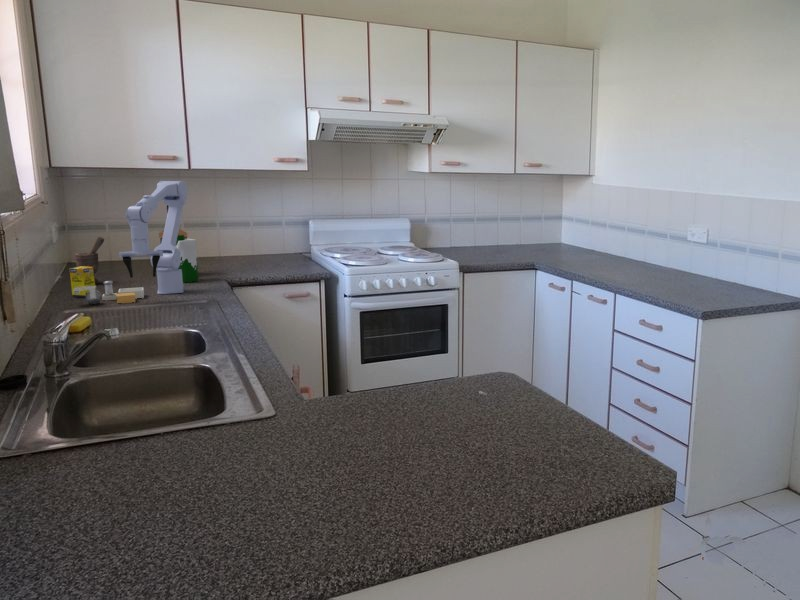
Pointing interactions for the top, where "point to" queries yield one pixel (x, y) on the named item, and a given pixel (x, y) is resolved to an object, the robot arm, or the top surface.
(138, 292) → the tray
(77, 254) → the mortar and pestle
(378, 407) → the top surface
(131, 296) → the block
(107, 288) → the pin
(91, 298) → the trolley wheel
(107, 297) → the pin bracket
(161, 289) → the robot arm
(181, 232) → the whiskey bottle
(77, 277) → the supplement box
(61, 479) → the top surface
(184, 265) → the milk carton
